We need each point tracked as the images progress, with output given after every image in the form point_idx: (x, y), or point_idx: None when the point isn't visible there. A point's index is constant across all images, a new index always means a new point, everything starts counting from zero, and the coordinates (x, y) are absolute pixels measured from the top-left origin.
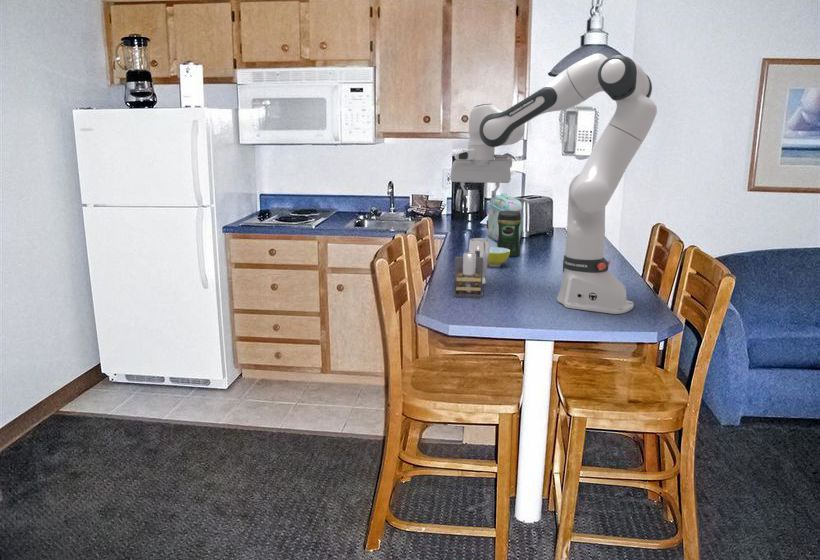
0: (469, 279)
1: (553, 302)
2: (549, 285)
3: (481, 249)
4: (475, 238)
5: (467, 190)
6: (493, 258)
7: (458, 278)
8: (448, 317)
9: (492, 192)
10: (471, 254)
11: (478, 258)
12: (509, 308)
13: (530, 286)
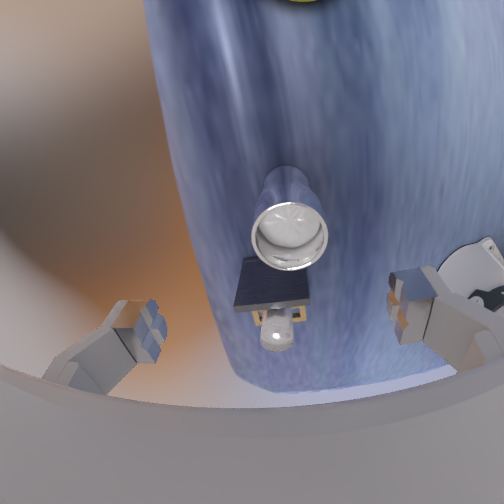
0: None
1: None
2: (444, 173)
3: (300, 256)
4: (269, 211)
5: (140, 345)
6: (301, 1)
7: (259, 324)
8: (269, 378)
9: (403, 334)
10: (282, 346)
11: (297, 305)
12: (352, 336)
13: (408, 190)
